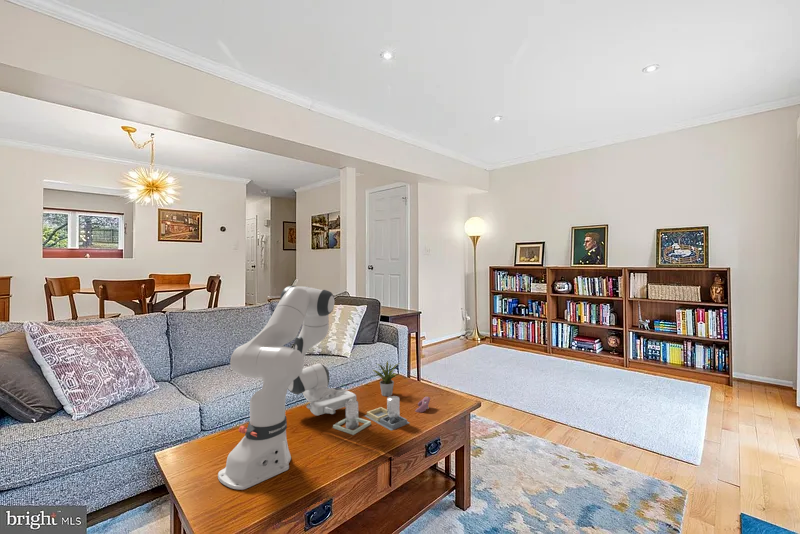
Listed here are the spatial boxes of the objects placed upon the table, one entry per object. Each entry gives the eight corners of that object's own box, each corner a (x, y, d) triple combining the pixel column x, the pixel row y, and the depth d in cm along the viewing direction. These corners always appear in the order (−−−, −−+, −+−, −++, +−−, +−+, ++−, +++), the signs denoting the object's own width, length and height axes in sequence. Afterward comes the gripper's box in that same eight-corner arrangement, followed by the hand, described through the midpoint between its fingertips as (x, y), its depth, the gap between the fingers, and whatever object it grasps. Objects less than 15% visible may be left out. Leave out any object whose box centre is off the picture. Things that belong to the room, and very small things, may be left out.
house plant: (392, 386, 193) (392, 355, 192) (408, 394, 181) (407, 361, 181) (369, 392, 185) (368, 360, 184) (383, 401, 173) (383, 366, 173)
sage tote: (353, 438, 138) (353, 431, 138) (332, 430, 143) (332, 425, 143) (370, 427, 146) (370, 421, 146) (350, 420, 152) (350, 415, 152)
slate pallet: (410, 425, 147) (410, 419, 147) (391, 433, 141) (391, 426, 141) (382, 411, 161) (382, 405, 161) (363, 418, 154) (363, 412, 154)
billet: (395, 426, 144) (394, 401, 144) (384, 423, 147) (384, 399, 146) (402, 421, 148) (401, 397, 148) (391, 419, 151) (391, 395, 151)
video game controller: (423, 419, 157) (430, 405, 156) (413, 413, 158) (421, 399, 157) (426, 409, 167) (433, 396, 166) (417, 404, 168) (424, 391, 167)
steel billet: (352, 431, 141) (352, 406, 141) (343, 428, 144) (342, 403, 144) (361, 426, 146) (360, 402, 145) (351, 423, 148) (351, 399, 148)
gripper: (304, 398, 152) (321, 408, 142) (345, 386, 166) (363, 394, 156) (304, 413, 153) (321, 424, 142) (345, 400, 166) (363, 409, 156)
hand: (343, 408), depth 149 cm, fingers open, 8 cm apart
